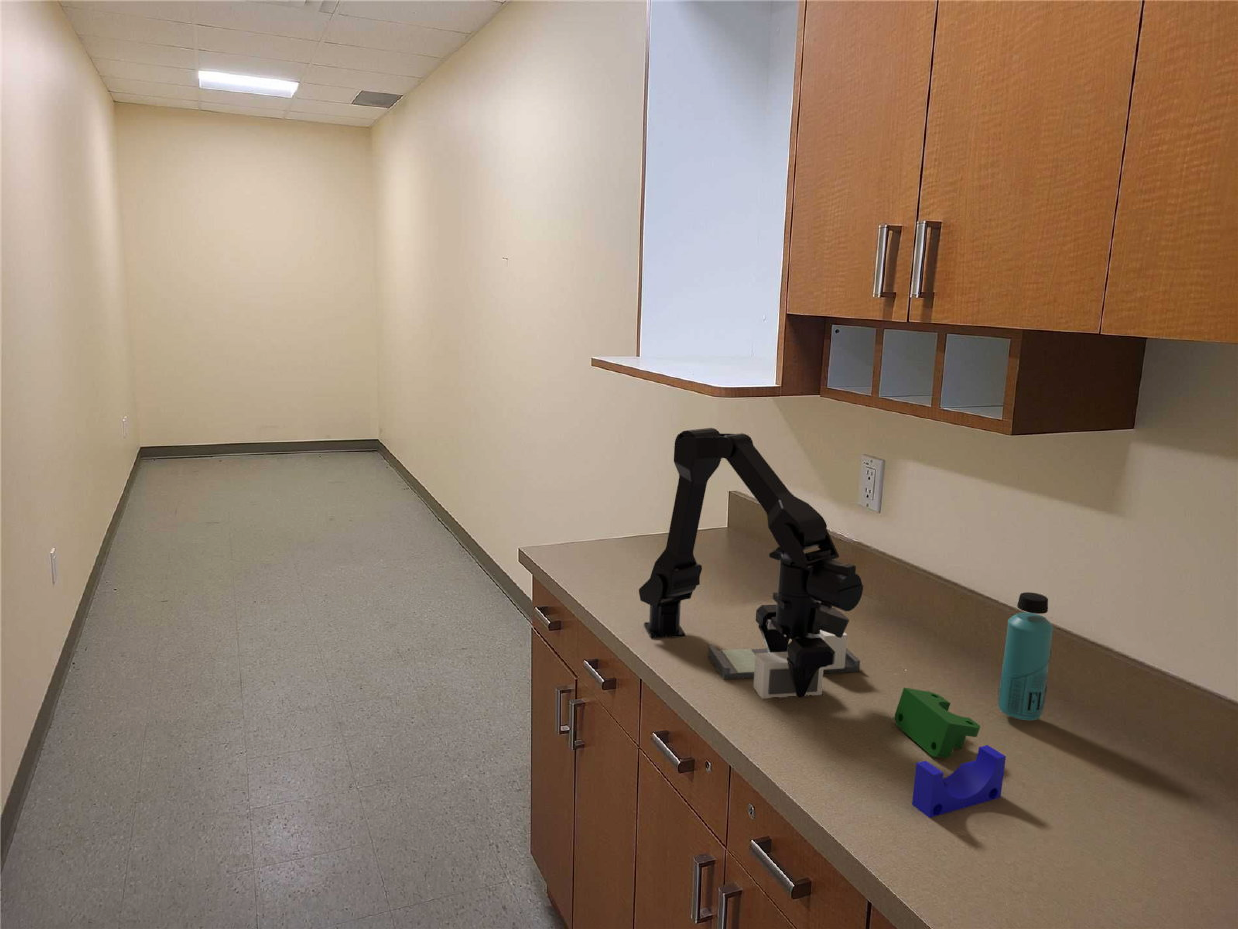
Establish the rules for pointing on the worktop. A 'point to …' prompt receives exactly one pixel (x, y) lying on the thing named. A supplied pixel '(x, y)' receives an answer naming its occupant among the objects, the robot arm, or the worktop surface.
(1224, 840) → the worktop surface
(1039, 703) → the beverage bottle
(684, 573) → the robot arm
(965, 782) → the blue bracket
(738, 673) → the rail
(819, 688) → the white rectangular prism
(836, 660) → the block
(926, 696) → the clamp
